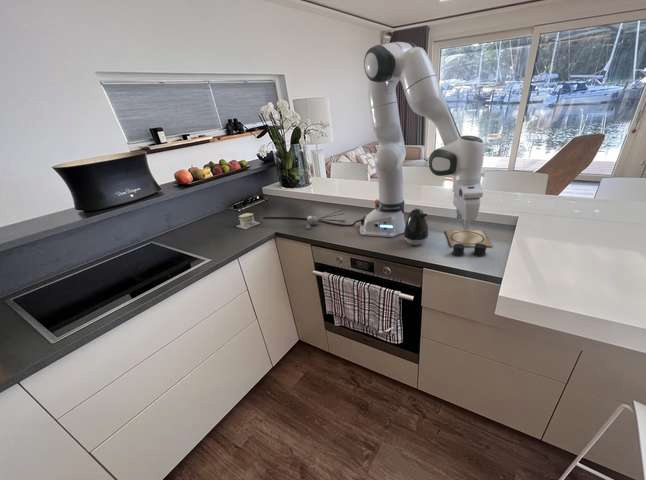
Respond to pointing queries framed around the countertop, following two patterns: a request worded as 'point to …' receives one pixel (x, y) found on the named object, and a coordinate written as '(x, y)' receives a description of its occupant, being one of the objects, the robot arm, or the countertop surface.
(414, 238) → the pump dispenser
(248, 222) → the stacked layers on plate
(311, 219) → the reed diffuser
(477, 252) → the dot right
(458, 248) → the black ribbed knob
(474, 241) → the sketch board
